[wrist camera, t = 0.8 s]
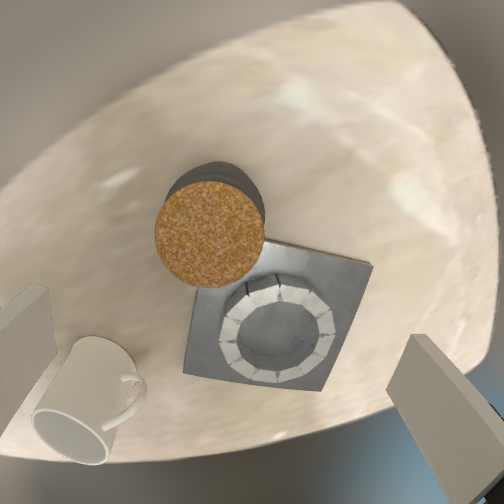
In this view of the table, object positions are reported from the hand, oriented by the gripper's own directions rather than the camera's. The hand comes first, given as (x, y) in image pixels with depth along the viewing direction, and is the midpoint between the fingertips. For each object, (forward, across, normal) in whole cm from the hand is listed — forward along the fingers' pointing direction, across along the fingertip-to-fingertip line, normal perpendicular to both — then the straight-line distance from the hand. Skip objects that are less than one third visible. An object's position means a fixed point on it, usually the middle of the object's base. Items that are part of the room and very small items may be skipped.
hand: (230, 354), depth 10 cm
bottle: (+20, -2, +3) cm, 20 cm away
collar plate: (+19, +6, -9) cm, 22 cm away
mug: (+19, -11, -18) cm, 29 cm away
